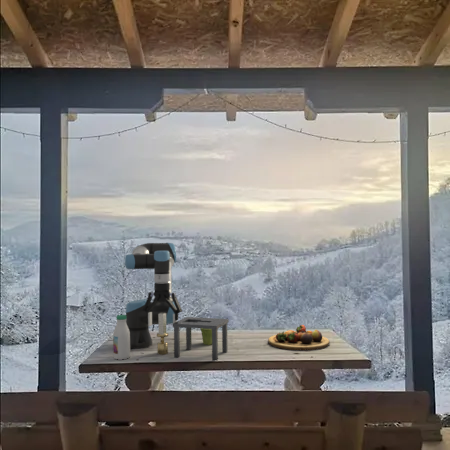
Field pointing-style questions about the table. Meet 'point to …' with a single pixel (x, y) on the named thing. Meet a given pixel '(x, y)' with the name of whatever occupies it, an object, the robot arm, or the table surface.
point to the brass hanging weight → (162, 335)
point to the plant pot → (207, 336)
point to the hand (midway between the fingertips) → (162, 326)
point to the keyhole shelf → (203, 324)
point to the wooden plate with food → (299, 340)
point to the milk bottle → (121, 339)
